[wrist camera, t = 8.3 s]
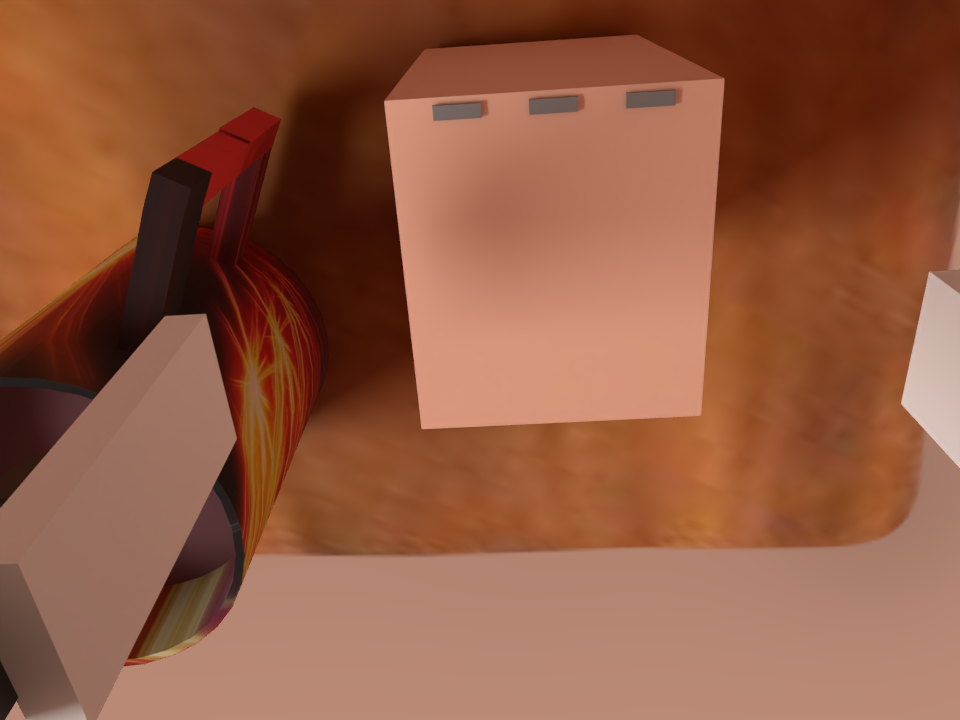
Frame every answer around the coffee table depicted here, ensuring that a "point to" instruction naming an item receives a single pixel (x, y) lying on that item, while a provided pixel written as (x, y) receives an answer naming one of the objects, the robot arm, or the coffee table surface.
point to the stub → (556, 229)
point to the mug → (238, 346)
